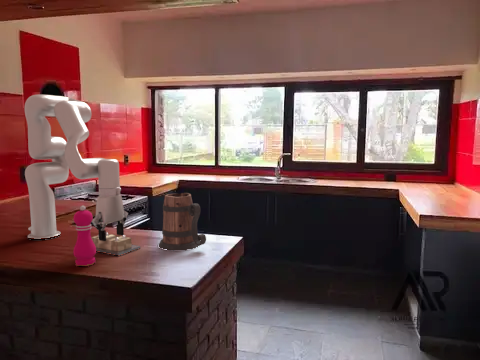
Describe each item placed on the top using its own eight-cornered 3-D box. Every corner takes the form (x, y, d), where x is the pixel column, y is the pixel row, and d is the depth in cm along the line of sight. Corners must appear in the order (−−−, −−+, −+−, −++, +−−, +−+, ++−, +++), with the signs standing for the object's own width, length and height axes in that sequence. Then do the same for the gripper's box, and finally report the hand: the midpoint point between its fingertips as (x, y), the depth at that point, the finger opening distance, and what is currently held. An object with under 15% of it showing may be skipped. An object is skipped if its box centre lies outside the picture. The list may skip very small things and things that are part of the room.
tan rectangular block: (91, 246, 152) (91, 237, 152) (105, 242, 158) (105, 233, 157) (118, 251, 145) (118, 242, 145) (131, 246, 151) (131, 237, 150)
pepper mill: (99, 260, 138) (97, 203, 136) (92, 267, 131) (89, 207, 129) (78, 260, 138) (75, 203, 136) (70, 267, 131) (67, 207, 128)
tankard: (148, 245, 157) (147, 194, 155) (183, 236, 169) (181, 190, 167) (186, 257, 141) (184, 201, 139) (220, 247, 153) (220, 196, 151)
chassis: (83, 249, 151) (83, 235, 151) (106, 242, 161) (105, 229, 160) (118, 256, 143) (118, 241, 142) (140, 248, 152) (139, 234, 151)
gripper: (119, 188, 158) (121, 231, 161) (83, 194, 143) (86, 242, 145) (133, 189, 155) (135, 233, 157) (98, 196, 140) (100, 244, 142)
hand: (111, 237), depth 151 cm, fingers open, 8 cm apart
